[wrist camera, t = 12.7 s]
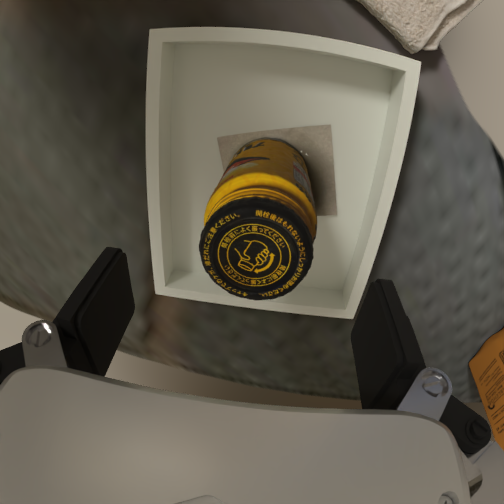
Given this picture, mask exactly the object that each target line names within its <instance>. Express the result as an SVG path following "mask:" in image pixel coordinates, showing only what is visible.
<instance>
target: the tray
mask: <svg viewBox="0 0 504 504" xmlns="http://www.w3.org/2000/svg"><path fill="white" fill-rule="evenodd" d="M420 68H421V62H420V61H417V60H414V59H411V58H408V57H404V56H401V55H398V54H394V53H391V52H387V51H384V50H380V49H376V48H372V47H368V46H364V45H360V44H355V43H351V42H346V41H341V40H336V39H331V38H325V37H319V36H313V35H307V34H300V33H292V32H284V31H275V30H264V29H251V28H233V27H178V28H159V29H150V31H149V44H148V60H147V82H146V176H147V199H148V216H149V231H150V243H151V255H152V265H153V275H154V284H155V293H156V294H159V295H165V296H171V297H178V298H184V299H191V300H197V301H204V302H211V303H218V304H225V305H232V306H239V307H247V308H255V309H263V310H271V311H279V312H288V313H297V314H306V315H315V316H325V317H336V318H347V319H353V318H354V315H355V313H356V310H357V307H358V305H359V302H360V299H361V297H362V294H363V291H364V288H365V286H366V283H367V280H368V277H369V274H370V271H371V269H372V266H373V263H374V260H375V257H376V254H377V251H378V247H379V244H380V241H381V238H382V235H383V231H384V228H385V225H386V221H387V218H388V215H389V211H390V208H391V204H392V201H393V197H394V193H395V189H396V186H397V182H398V178H399V174H400V170H401V166H402V162H403V158H404V153H405V149H406V144H407V140H408V135H409V130H410V126H411V121H412V116H413V110H414V105H415V99H416V94H417V88H418V81H419V75H420ZM319 125H331V133H332V146H333V159H334V173H335V189H336V206H337V215H327V216H317V233H316V238H315V240H314V243H313V248H314V251H313V256H314V258H313V260H312V265H311V268H310V269H309V270H308V273H307V275H306V277H304V279H303V280H302V281H301V282H300V283H299V284H298V285H297V286H296V288H294V289H293V290H292V291H291V292H289V293H287V294H286V295H284V296H281V297H278V298H275V299H271V300H270V299H269V300H257V301H256V300H249V299H246V298H241V297H238V296H235V295H232V294H230V293H228V292H227V291H226V290H224V289H222V288H221V287H220V286H218V285H217V284H216V283H214V282H213V280H212V279H211V278H210V276H209V275H208V274H207V273H206V271H205V269H204V267H203V265H202V261H201V256H200V252H199V242H200V235H201V232H202V230H203V229H204V213H205V210H206V206H207V203H208V201H209V199H210V196H211V195H212V193H213V192H214V189H215V188H216V187H217V185H218V183H219V181H220V179H221V177H222V176H223V173H224V171H223V165H222V160H221V156H220V151H219V146H218V141H217V137H222V136H228V135H236V134H242V133H249V132H257V131H265V130H274V129H284V128H295V127H306V126H319ZM301 152H302V151H301ZM306 155H307V153H306Z"/></svg>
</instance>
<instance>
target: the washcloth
mask: <svg viewBox="0 0 504 504" xmlns="http://www.w3.org/2000/svg"><path fill="white" fill-rule="evenodd" d="M356 1H358V2H359V3H361V4H362V5H363V6H364V7H365V8H366V9H367V10H368V11H369V12H370V13H371V14H372V15H374V16H375V17H376V18H377V20H378V21H379V22H380V23H381V24H382V25H384V26H385V27H386V29H387V30H389V32H390V33H391V34H393V35H394V38H396V39H397V40H398V41H399V42H400V43H401V44H402V46H403V48H404V49H406V50H407V51H409V53H410V54H414V53H417V52H418V51H420V50H421V49H423V50H437V47H438V45H439V43H440V41H441V40H442V39H443V38H444V37H445V35H446V34H447V33H448V32H449V31H451V30H452V29H453V28H454V27H455V26H456V25H457V24H458V23H460V21H462V20H463V19H464V18H465V17H466V16H467V15H468V14H469V13H470V12H471V11H472V10H473V9H475V8H476V7H477V6H478V5H479V4H480V3H481V2H482V1H483V0H356Z"/></svg>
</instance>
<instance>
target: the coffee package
mask: <svg viewBox="0 0 504 504" xmlns="http://www.w3.org/2000/svg"><path fill="white" fill-rule="evenodd" d="M469 367H470V370H471V372H472V375H473V377H474V380H475V382H476V385H477V388H478V391H479V394H480V397H481V399H482V403H483V405H484V408H485V411H486V414H487V417H488V420H489V422H490V424H491V428H492V432H493V435H494V438H495V441H496V442H497V443H498V444H499V446H500V447H501V448H502V450H503V451H504V328H503V329H502V330H501V331H499V332H498V333H496V334H494V335H492V336H491V337H490V338H488V339H487V340H486V342H485V343H484V344H483V345H482V347H481V348H480V350H479V351H478V353H477V354H476V355H475V356H474V358H473V359H472V360H471V361H470V362H469Z"/></svg>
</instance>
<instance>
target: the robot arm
mask: <svg viewBox="0 0 504 504" xmlns="http://www.w3.org/2000/svg"><path fill="white" fill-rule="evenodd" d="M134 310H135V304H134V298H133V293H132V287H131V282H130V276H129V270H128V264H127V257H126V254H125V253H123V252H122V250H121V249H120V248H112V247H106V248H105V249H104V251H103V252H102V253H101V255H100V256H99V257H98V259H97V260H96V261H95V263H94V264H93V265H92V267H91V268H90V269H89V271H88V272H87V274H86V275H85V276H84V278H83V279H82V280H81V281H80V283H79V284H78V285H77V287H76V288H75V290H74V291H73V293H72V294H71V295H70V297H69V298H68V300H67V301H66V303H65V304H64V306H63V307H62V309H61V310H60V312H59V313H58V315H57V316H56V318H55V319H54V321H53V322H50V321H48V320H40V321H36V322H34V323H32V324H30V325H29V326H28V327H27V328H26V329H25V331H24V333H23V335H22V342H21V343H18V344H16V345H13V346H11V347H8V348H6V349H3V350H1V351H0V504H504V451H503V450H502V448H501V447H500V446H499V444H498V443H497V442H496V441H494V442H492V441H491V440H490V438H491V429H490V426H489V424H488V423H487V421H486V420H485V419H484V418H482V417H481V416H480V415H478V414H477V413H476V412H474V411H473V410H472V409H470V408H468V407H467V406H466V405H464V404H463V403H462V402H460V401H459V400H458V399H456V398H455V397H453V396H452V395H451V392H452V384H451V381H450V379H449V378H448V376H447V375H446V374H445V373H444V372H442V371H441V370H439V369H437V368H431V367H430V368H426V366H425V363H424V360H423V357H422V354H421V351H420V348H419V345H418V342H417V339H416V336H415V334H414V331H413V328H412V325H411V323H410V320H409V318H408V316H406V314H405V312H404V309H403V306H402V304H401V301H400V299H399V296H398V294H397V291H396V289H395V286H394V284H393V282H392V280H386V279H377V280H376V281H375V282H372V283H371V285H370V287H369V290H368V292H367V295H366V297H365V300H364V303H363V305H362V308H361V310H360V313H359V315H358V317H357V320H356V322H355V325H354V327H353V329H352V333H351V342H352V348H353V353H354V359H355V365H356V371H357V377H358V383H359V390H360V396H361V403H362V409H331V408H328V409H327V408H305V407H289V406H277V405H265V404H255V403H246V402H245V403H244V402H237V401H229V400H222V399H221V400H220V399H214V398H208V397H201V396H195V395H189V394H183V393H177V392H172V391H166V390H161V389H156V388H151V387H147V386H142V385H137V384H133V383H129V382H124V381H120V380H116V379H111V378H107V377H104V376H105V375H106V372H107V370H108V368H109V365H110V363H111V361H112V359H113V356H114V354H115V352H116V350H117V348H118V345H119V343H120V341H121V339H122V337H123V335H124V332H125V330H126V328H127V326H128V324H129V322H130V320H131V318H132V316H133V313H134Z"/></svg>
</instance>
